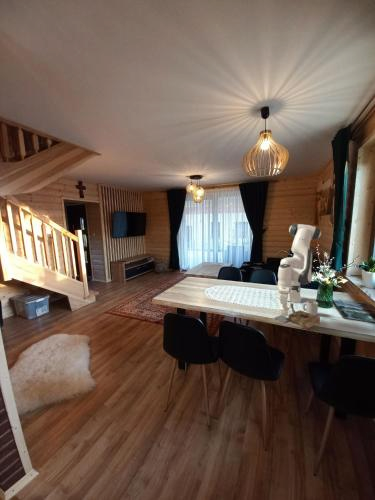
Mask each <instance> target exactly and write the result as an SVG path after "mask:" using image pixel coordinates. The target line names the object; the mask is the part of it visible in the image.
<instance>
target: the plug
mask: <svg viewBox="0 0 375 500" xmlns="http://www.w3.org/2000/svg"><path fill="white" fill-rule="evenodd" d="M278 309H279V310H280V313H281V315H282V316H285V317H287V316H289V314H288V311H289V310H290V307H288V303H287V304H286V305H285V308H282V304H281V303H280V306H279V308H278Z"/></svg>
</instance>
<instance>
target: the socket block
mask: <svg viewBox="0 0 375 500" xmlns="http://www.w3.org/2000/svg"><path fill="white" fill-rule="evenodd" d="M295 312H296V313H297V315H293V312H292V313H290V314H288V317H287V318H288V319H289V320H290V322H293V323H294V324H297V325H298V326H299V325H300V326H302V327H305V328H307V329H310V328H312V327H315V326H317V325H318V324H320V323H321V317H320V316H318V315H312V314H309V313H306V311H304V310H297V311H295Z"/></svg>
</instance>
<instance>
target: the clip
mask: <svg viewBox="0 0 375 500" xmlns="http://www.w3.org/2000/svg"><path fill="white" fill-rule="evenodd" d="M289 309H291V311H292V313H293V315H297V313H296V312H297V311H296V310H295V307H294V302H290V306H289Z"/></svg>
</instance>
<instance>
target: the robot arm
mask: <svg viewBox="0 0 375 500" xmlns="http://www.w3.org/2000/svg"><path fill="white" fill-rule="evenodd" d="M288 232H289V236H292V237H294V238H293V241H292V245H291V248H290V249H291V250H290V251H291V252H292V253H293V256H291V257H285V258H282V259H281V260H280V265H279V267H278V272H277V279H278V281H277V293H276V294H274V297H275V298H278V299H279V302H280V305H281V304H282V308H285V305H286V304H287V305H288V303H289V302H290V303H300V302H302V297H301V287H302V286H301V284H302V285H304V286H305V285H308V284H309V283H311V281H312V280H313V279H312V278H313V277H312V276H313V275H312V274H313V273H312V272H313V271H312V270H313V257H314V254H313V253H314V252H313V250H312V249H311V248H310V247H311V246H310V244H311V241H317V240H319V238H320V237H321V236H322V230H321V228H320V227H318V226H313V225H311V224H301V223H292V224H291V225H290V226H289V228H288Z"/></svg>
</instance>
